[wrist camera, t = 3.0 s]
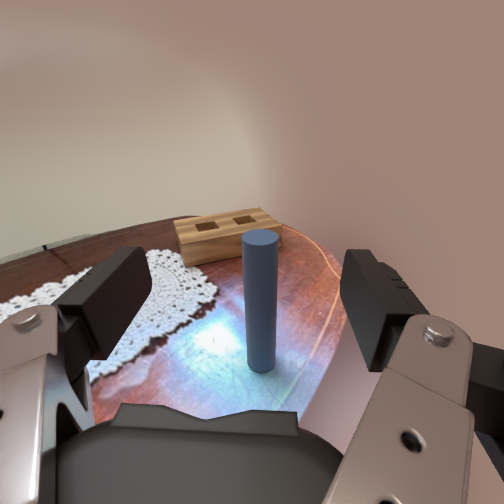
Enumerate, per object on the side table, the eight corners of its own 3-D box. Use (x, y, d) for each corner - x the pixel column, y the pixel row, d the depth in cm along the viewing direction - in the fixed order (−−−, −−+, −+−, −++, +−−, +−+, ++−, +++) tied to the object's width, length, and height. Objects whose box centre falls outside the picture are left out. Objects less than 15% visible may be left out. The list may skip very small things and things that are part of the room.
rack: (177, 241, 57) (173, 220, 55) (259, 226, 64) (259, 207, 61) (185, 267, 48) (181, 243, 45) (281, 246, 54) (282, 225, 51)
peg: (268, 346, 31) (269, 226, 24) (280, 367, 29) (285, 240, 21) (243, 354, 30) (236, 232, 23) (253, 377, 28) (249, 248, 20)
